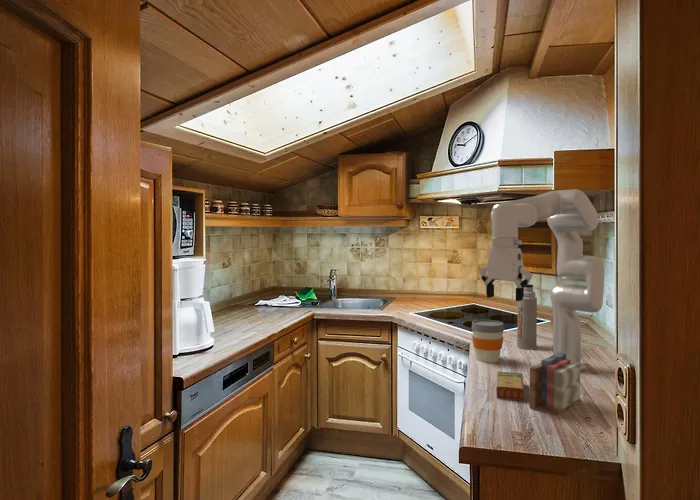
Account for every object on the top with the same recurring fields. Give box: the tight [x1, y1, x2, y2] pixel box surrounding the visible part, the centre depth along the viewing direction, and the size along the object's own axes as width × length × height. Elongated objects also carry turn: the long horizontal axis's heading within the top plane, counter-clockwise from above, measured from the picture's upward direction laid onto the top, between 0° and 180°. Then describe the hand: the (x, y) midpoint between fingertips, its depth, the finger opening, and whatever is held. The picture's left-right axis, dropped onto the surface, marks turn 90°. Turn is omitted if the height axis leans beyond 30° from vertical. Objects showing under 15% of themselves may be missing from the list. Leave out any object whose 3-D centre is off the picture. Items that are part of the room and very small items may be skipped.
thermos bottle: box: [516, 283, 538, 350], centre depth 196 cm, size 8×8×28 cm
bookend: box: [529, 353, 581, 416], centre depth 133 cm, size 18×8×14 cm, turn 131°
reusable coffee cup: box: [471, 319, 505, 364], centre depth 179 cm, size 13×13×15 cm
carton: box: [495, 371, 525, 402], centre depth 145 cm, size 8×16×4 cm, turn 161°
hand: (504, 298), depth 138 cm, fingers open, 9 cm apart
